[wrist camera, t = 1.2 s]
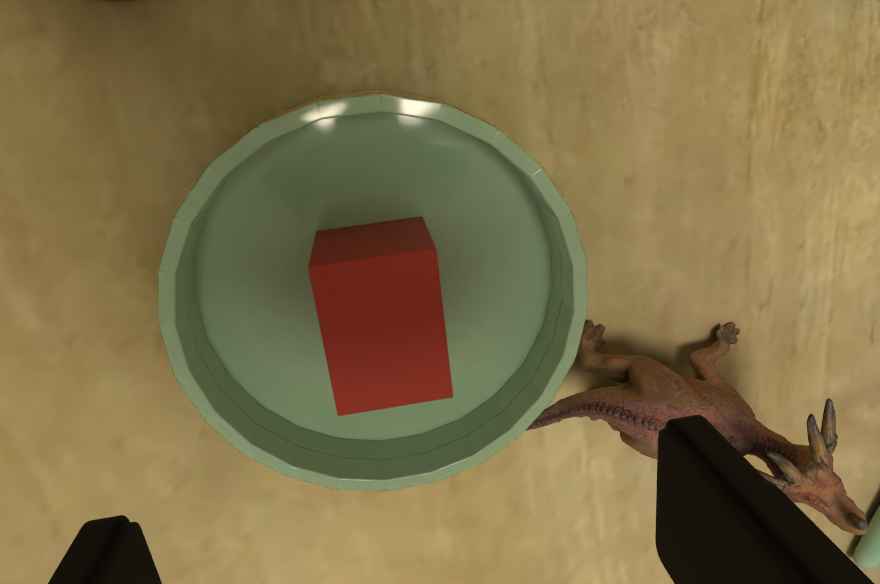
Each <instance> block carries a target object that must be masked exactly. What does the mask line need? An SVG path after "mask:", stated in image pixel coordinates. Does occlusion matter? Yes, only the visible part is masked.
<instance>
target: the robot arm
mask: <svg viewBox="0 0 880 584" xmlns="http://www.w3.org/2000/svg"><path fill="white" fill-rule="evenodd" d="M656 548H657V552H658V555H659V558H660V560H661V562H662V564H663V565H664V567H665V569H666V570H667V572H668V574H669V575H670V577H671V579H672V580H673V582H674V583H675V584H874V583H873V582H872V581H871V580H870V579H869V578H868V577H867V576H866V575H865V574H864V573H863V572H862V571H861V570H860V569H859V568H858V567H857V566H856V565H855V564H854V563H853V562H852V561H851V560H850V559H849V558H848V557H847V556H846V555H845V554H844V553H843V552H842V551H841V550H840V549H839V548H838V547H837V546H836V545H835V544H834V543H833V542H832V541H831V540H830V539H829V538H828V537H827V536H826V535H825V534H824V533H823V532H822V531H821V530H820V529H819V528H818V527H817V526H816V525H815V524H814V523H813V522H812V521H811V520H810V519H809V518H808V517H807V516H806V515H805V514H804V513H803V512H802V511H801V510H800V509H799V508H798V507H797V506H796V505H795V504H794V503H793V502H792V501H791V500H790V499H789V498H788V497H787V496H786V495H785V494H784V493H783V492H782V491H781V490H780V489H779V488H778V487H777V486H776V485H775V484H773V483H772V482H771V481H768V480H766V479H765V478H764V477H763V476H762V475H761V474H760V473H759V472H758V471H757V470H756V469H755V468H754V467H753V466H752V465H751V464H750V463H749V462H748V461H747V460H746V459H745V458H744V457H743V456H742V455H741V454H740V453H739V452H738V451H737V450H736V449H735V448H734V447H733V446H732V445H731V444H730V443H729V442H728V441H727V440H726V439H725V438H724V436H723V435H722V434H721V433H720V432H719V431H718V430H717V429H716V428H715V427H714V426H713V425H712V424H711V423H710V422H709V421H708V420H707V419H706V418H705V417H703V416H702V415H693V416H687V417H681V418H675V419H670V420H669V421H668V422H667V424H666V428H665V429H661V430H660V431H659V434H658V462H657V502H656ZM48 584H162V582H161V580H160V577H159V575H158V572H157V569H156V567H155V564H154V561H153V559H152V556H151V553H150V551H149V548H148V545H147V543H146V540H145V537H144V535H143V532H142V529H141V527H140V525H139V524H138V523H137V522H131V523H130V521H129V519H128V518H127V517H126V516H122V515H120V516H115V517H109V518H103V519H97V520H92V521H88V522H86V523H85V524H84V525H83V526H82V528H81V529H80V531H79V533H78V534H77V536H76V538H75V539H74V541H73V543H72V544H71V546H70V548H69V549H68V551H67V553H66V554H65V556H64V558H63V559H62V561H61V563H60V564H59V566H58V568H57V569H56V571H55V573H54V574H53V576H52V578H51V579H50V581H49V583H48Z"/></svg>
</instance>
